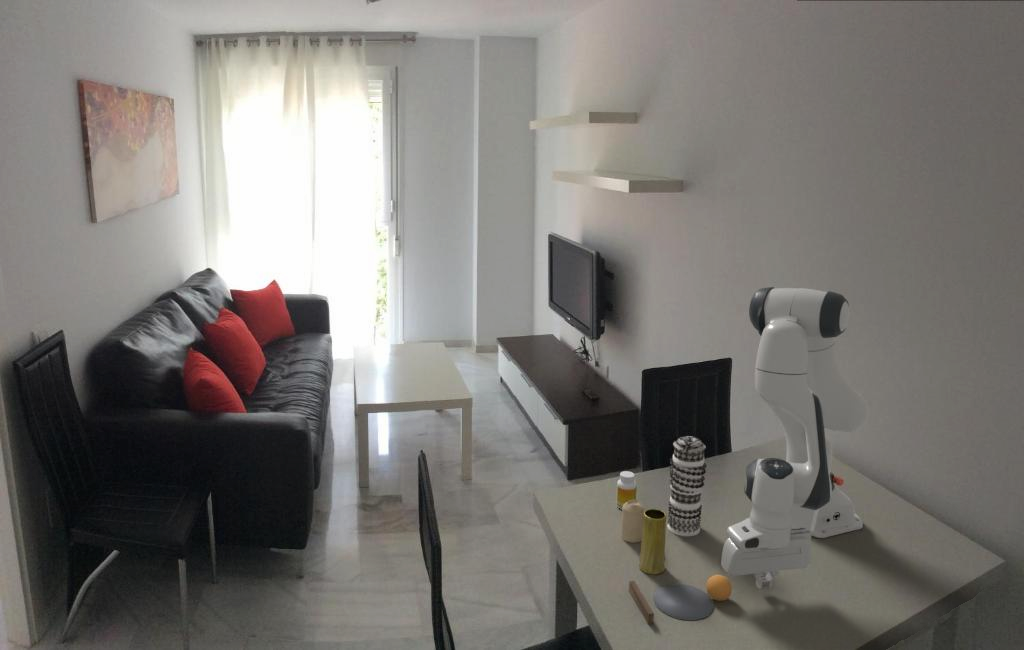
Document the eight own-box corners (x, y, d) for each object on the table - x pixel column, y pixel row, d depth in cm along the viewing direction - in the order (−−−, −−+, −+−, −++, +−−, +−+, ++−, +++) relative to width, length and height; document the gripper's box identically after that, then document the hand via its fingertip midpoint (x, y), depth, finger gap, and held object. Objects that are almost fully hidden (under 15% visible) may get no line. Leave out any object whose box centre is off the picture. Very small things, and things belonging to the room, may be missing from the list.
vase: (636, 561, 182) (639, 507, 178) (660, 560, 182) (664, 507, 179) (642, 575, 176) (645, 520, 172) (667, 574, 177) (671, 519, 173)
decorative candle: (674, 538, 192) (680, 448, 186) (660, 521, 201) (665, 434, 194) (707, 535, 194) (714, 445, 187) (691, 517, 202) (698, 431, 196)
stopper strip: (633, 590, 170) (634, 580, 170) (653, 623, 159) (654, 613, 158) (628, 591, 170) (629, 581, 169) (648, 624, 159) (648, 614, 158)
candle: (642, 544, 189) (644, 508, 187) (620, 541, 190) (622, 506, 188) (643, 533, 195) (645, 498, 192) (621, 530, 196) (623, 495, 193)
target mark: (698, 581, 174) (698, 581, 174) (724, 616, 161) (724, 615, 161) (645, 587, 171) (645, 587, 171) (667, 623, 159) (667, 622, 159)
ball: (698, 578, 168) (708, 595, 170) (709, 593, 163) (719, 610, 165) (718, 565, 169) (728, 582, 170) (730, 579, 164) (740, 596, 165)
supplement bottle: (636, 511, 206) (638, 478, 203) (617, 510, 206) (618, 478, 203) (634, 501, 211) (635, 470, 209) (615, 501, 211) (616, 469, 209)
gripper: (803, 520, 171) (797, 573, 174) (720, 528, 167) (715, 583, 170) (820, 534, 165) (813, 589, 168) (734, 543, 161) (728, 599, 164)
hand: (763, 586), depth 169 cm, fingers closed
